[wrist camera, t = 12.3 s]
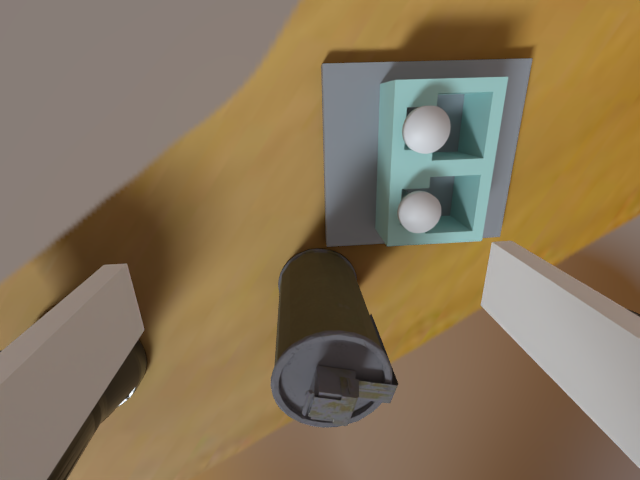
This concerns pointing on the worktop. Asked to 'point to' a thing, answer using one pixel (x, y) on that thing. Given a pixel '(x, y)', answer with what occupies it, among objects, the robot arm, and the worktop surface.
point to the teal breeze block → (438, 157)
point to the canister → (327, 344)
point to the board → (363, 139)
